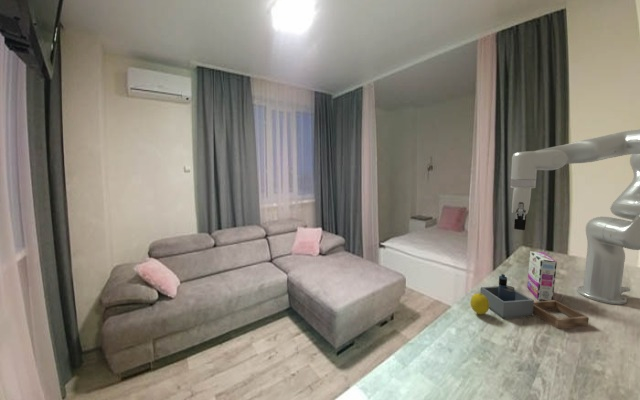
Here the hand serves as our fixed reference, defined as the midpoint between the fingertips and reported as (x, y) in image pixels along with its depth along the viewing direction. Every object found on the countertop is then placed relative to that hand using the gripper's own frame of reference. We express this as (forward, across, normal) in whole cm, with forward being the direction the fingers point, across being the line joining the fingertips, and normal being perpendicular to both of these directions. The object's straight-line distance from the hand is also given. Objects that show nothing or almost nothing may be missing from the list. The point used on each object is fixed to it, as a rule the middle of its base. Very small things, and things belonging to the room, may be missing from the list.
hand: (520, 226), depth 96 cm
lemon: (+28, +25, -9) cm, 39 cm away
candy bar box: (+28, -5, +7) cm, 30 cm away
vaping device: (+28, +15, -2) cm, 32 cm away
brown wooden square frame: (+28, +11, +11) cm, 33 cm away
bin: (+28, +15, -2) cm, 32 cm away
